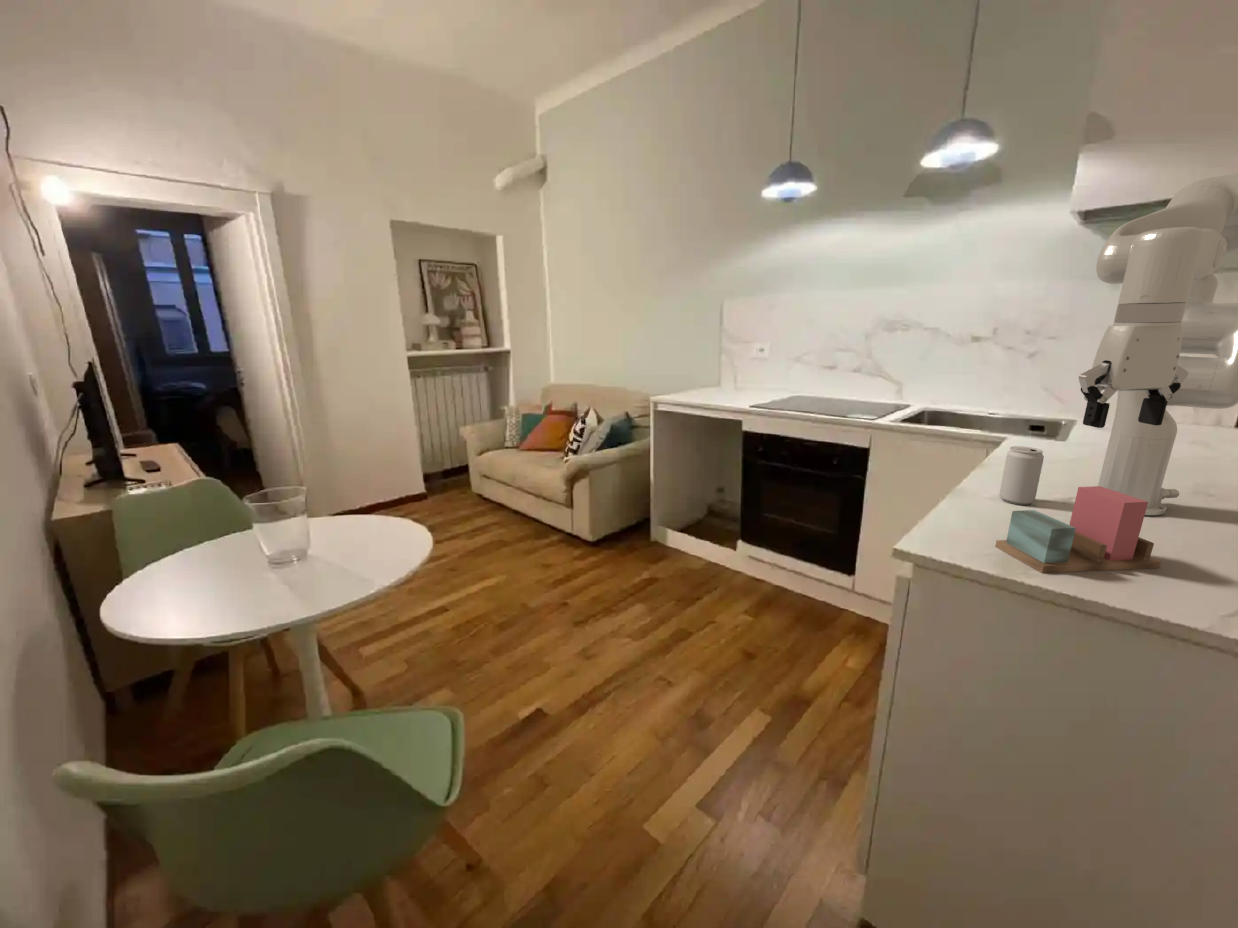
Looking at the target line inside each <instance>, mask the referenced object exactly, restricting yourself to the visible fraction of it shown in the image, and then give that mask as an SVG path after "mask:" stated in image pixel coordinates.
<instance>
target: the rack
mask: <svg viewBox="0 0 1238 928" xmlns="http://www.w3.org/2000/svg"><path fill="white" fill-rule="evenodd" d="M1075 529H1076V528H1075V527H1073V526H1070V524H1067V523H1065V522H1063V521H1061V520H1059V519H1055V518H1054V517H1051V516H1050V515H1047V514H1044V513H1042V512H1040V511H1037V510H1035V509H1030V510H1029V509H1028V510H1012V512H1011V518H1010V523H1009V525H1008V533H1007V537H1006V539H1004V540H1003V539H1001V540H1000V539H999V540H996V541H995V548H997V549H999V550H1000V551H1002V552H1004V553H1006V554H1008V556H1009V555H1010V556H1011V557H1013V558H1014V559H1017V560H1018V561H1020V562H1022V563H1023V564H1025V565H1027V566H1029V567H1030V568H1033V569H1034V570H1036V571H1038V572H1039V573H1041V574H1045V573H1046V574H1047V573H1048V574H1049V573H1069V572H1070V573H1071V572H1073V573H1074V572H1091V571H1092V572H1093V571H1095V572H1097V571H1117V570H1119V571H1120V570H1140V569H1141V570H1142V569H1159V568H1160V566H1161V563H1162V561H1161V560H1160V559H1157V558H1154V557H1152V552H1153V548H1154V545H1155V542H1153V541H1150V540H1147V539H1145V538H1142V537H1140V536H1139V537H1138V541H1137V545H1136V548H1135V552H1134V555H1133V559H1128V560H1108V559H1105V558H1104V555H1105V551H1106V547H1107V545H1106V544H1103V543H1101V542H1099V541H1096V540H1094V539H1092V538H1090V537H1087V536H1085V535H1083V534H1080V533H1078V532H1076V531H1075Z"/></svg>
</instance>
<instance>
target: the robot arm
mask: <svg viewBox="0 0 1238 928" xmlns="http://www.w3.org/2000/svg"><path fill="white" fill-rule="evenodd" d="M1236 253H1237V254H1238V173H1233V174H1226V175H1219V176H1217V175H1216V176H1211V177H1206V178H1202V179H1199V180H1197V181H1196V180H1195V181H1193V182H1190V183H1188V184H1187V185H1185V186H1184V187H1182V188H1181V189H1179V191H1177V193H1175V194H1174V195H1173V197H1172V198H1171V200H1170V201H1169V202H1168V204H1167V206H1166V207H1165V208H1162V209H1158V210H1157V211H1155V212H1151V213H1149V214H1146V215H1144V216H1143V215H1142V216H1140V217H1137V218H1135V219H1132V220H1130V221H1128V222H1126V223H1124V224H1122V225H1121V226H1119V227H1118V228H1116V229H1115V230H1114V231H1113V233H1112V234H1111V236H1110V237H1109V238H1108V239H1107V240H1106V242H1105V243H1104V245H1103V247H1102V248H1101V249H1100V252H1099V254H1098V256H1097V257H1098V258H1097V261H1096V265H1095V266H1096V267H1095V268H1096V274H1097V277H1098V278H1099V280H1100V281H1101V282H1103V283H1106V284H1111V285H1113V284H1114V285H1115V284H1116V285H1118V284H1122V286H1121V290H1120V295H1119V298H1118V302H1117V307H1116V312H1115V316H1114V320H1113V324H1112V325H1108V326H1107V329H1106V330H1105V332H1104V334H1103V336H1102V338H1101V340H1100V343H1099V345H1098V348H1097V350H1096V354H1095V357H1094V359H1093V364H1092V366H1091V368H1090V369H1088V370H1086V371H1084V372H1082V373H1080V374H1079V375H1078V381H1079V384H1080V392H1081V394H1083V396H1084V398H1083V399H1084V401H1087V402H1086V407H1085V411H1084V415H1083V420H1082V425H1083V426H1087V427H1093V428H1097V429H1103V428H1104V427H1105V426H1106V422H1107V419H1108V413H1109V410H1110V407H1111V406H1110V403H1109V402H1108V401H1109V400H1110V399H1111V398H1112V396H1113V395H1115V393H1116V392H1117V399H1116V408H1115V412H1114V419H1113V423H1112V428H1111V432H1110V436H1109V439H1108V444H1107V448H1106V451H1105V456H1104V460H1103V464H1102V468H1101V472H1100V476H1099V481H1098V483H1097V486H1101V487H1104V488H1107V489H1110V490H1113V491H1116V492H1120V493H1123V494H1126V495H1129V496H1132V497H1135V498H1138V499H1141V500H1144V501H1147V502H1148V505H1147V508H1146V512H1145V516H1161V515H1164V514H1166V511H1167V506H1166V505H1165V503H1162V500H1164V499H1175V498H1178V497H1180V496H1179V495H1180V493H1179V490H1178V489H1176V488H1164V487H1162V486H1163V483H1164V481H1165V476H1166V473H1167V469H1168V466H1169V462H1170V459H1171V455H1172V451H1173V448H1174V445H1175V441H1176V437H1177V434H1178V425H1177V423H1176V420H1175V419H1174V417H1173V416H1172V415H1171V414H1170V413H1169V411H1168V410H1167V406H1171V407H1173V406H1175V407H1176V406H1177V407H1185V408H1187V407H1189V408H1200V409H1201V408H1202V409H1219V410H1221V409H1229V408H1232V407H1235V406H1236V405H1238V302H1233V303H1232V302H1231V303H1228V302H1227V303H1226V302H1224V303H1214V302H1213V301H1214V298H1215V295H1216V292H1217V288H1218V286H1219V281H1218V278H1217V277H1216V275H1215V274H1214V273H1213V272H1214V271H1215V270H1216V269H1217V268H1219V267H1220V266H1221V264H1222V263H1223V261H1224V260H1225V257H1226V254H1236ZM1180 354H1189V355H1190V354H1193V355H1195V354H1196V355H1197V354H1198V355H1214V356H1215V357H1211V356H1209V357H1206V356H1205V357H1204V356H1203V357H1202V356H1200V357H1199V356H1186V355H1184V356H1183V355H1180ZM1102 391H1103V392H1102Z"/></svg>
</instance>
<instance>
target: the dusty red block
mask: <svg viewBox="0 0 1238 928" xmlns="http://www.w3.org/2000/svg"><path fill="white" fill-rule="evenodd" d="M1147 505H1148V502H1147V501H1144V500H1141V499H1138V498H1135V497H1132V496H1129V495H1126V494H1123V493H1120V492H1116V491H1113V490H1110V489H1107V488H1104V487H1101V486H1098V485H1096V486H1093V485H1092V486H1078V487H1077V492H1076V497H1075V500H1074V504H1073V507H1072V512H1071V517H1070V521H1069V525H1070V526H1073V527H1075V528H1076V529H1075V531H1076V532H1078V533H1080V534H1083V535H1085V536H1087V537H1090V538H1092V539H1094V540H1096V541H1099V542H1101V543H1103V544H1106V545H1107V547H1106V551H1105V555H1104V558H1105V559H1108V560H1128V559H1133V555H1134V552H1135V548H1136V545H1137V541H1138V537H1140V534H1141V530H1142V527H1143V522H1144V519H1145V516H1146V515H1145V512H1146V508H1147Z"/></svg>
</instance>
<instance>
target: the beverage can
mask: <svg viewBox="0 0 1238 928" xmlns="http://www.w3.org/2000/svg"><path fill="white" fill-rule="evenodd" d="M1043 452H1044V451H1043V450H1042V449H1040V448H1036V447H1032V446H1021V445H1020V446H1019V445H1017V446H1015V445H1014V446H1011V447H1009V450H1008V451H1007V453H1006V458H1005V461H1004V467H1003V468H1004V469H1003V471H1002V479H1001V484H1000V489H999V492H998V496H999V497H1000V499H1001V500H1002V501H1003V502H1004V503H1005V502H1006V503H1010V504H1013V505H1018V506H1019V505H1022V506H1026V505H1027V506H1028V505H1030V504H1032V503H1034V502H1036V496H1037V492H1038V487H1039V483H1040V478H1041V473H1042V470H1043V469H1042V467H1043V464H1044V459H1045V457H1044V456H1045V455H1044V454H1043Z"/></svg>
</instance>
